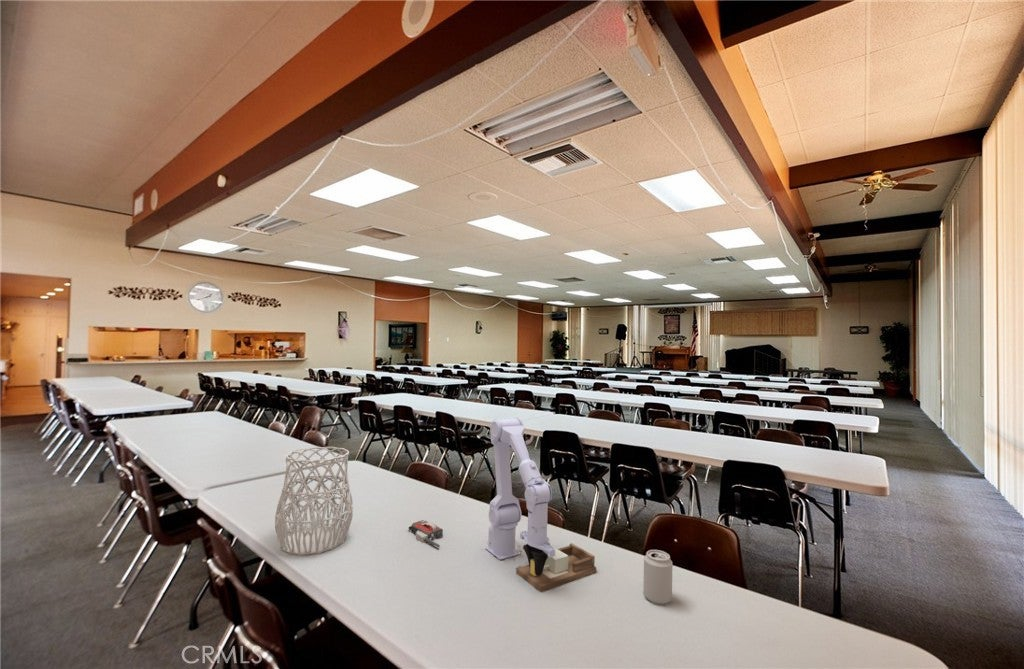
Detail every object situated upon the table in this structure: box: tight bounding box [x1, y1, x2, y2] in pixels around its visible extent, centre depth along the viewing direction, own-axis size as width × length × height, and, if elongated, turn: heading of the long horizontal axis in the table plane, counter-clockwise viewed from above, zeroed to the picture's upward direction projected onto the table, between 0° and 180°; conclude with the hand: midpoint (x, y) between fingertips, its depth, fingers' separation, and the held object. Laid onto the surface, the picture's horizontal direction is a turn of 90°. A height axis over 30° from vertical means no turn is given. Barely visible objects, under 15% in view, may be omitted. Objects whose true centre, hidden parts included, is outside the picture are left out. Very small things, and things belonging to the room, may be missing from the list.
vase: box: [274, 446, 354, 556], centre depth 149 cm, size 24×24×30 cm
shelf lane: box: [515, 542, 597, 593], centre depth 132 cm, size 12×22×4 cm, turn 124°
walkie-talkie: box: [408, 519, 444, 548], centre depth 154 cm, size 9×4×20 cm
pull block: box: [530, 547, 568, 576], centre depth 130 cm, size 6×11×4 cm, turn 124°
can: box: [642, 549, 673, 606], centre depth 120 cm, size 8×8×12 cm
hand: (536, 571), depth 128 cm, fingers closed on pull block, 2 cm apart
